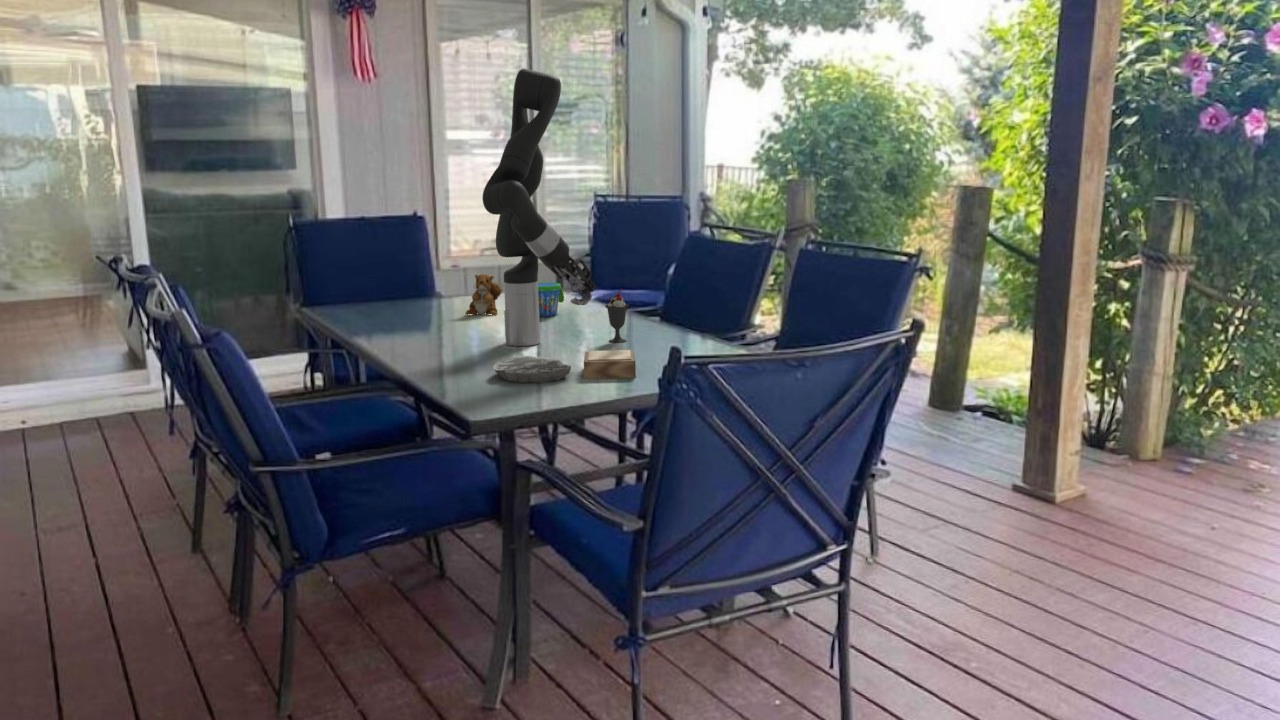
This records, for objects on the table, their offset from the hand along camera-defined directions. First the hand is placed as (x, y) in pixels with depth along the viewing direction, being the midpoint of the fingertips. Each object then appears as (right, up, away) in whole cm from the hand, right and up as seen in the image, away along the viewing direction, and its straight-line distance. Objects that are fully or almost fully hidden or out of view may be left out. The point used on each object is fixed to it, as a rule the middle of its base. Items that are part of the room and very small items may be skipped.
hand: (586, 287), depth 245 cm
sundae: (+8, -13, +24) cm, 28 cm away
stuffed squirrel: (-37, -3, +75) cm, 83 cm away
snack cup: (-17, -4, +68) cm, 70 cm away
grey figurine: (-1, -5, 0) cm, 5 cm away
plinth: (+7, -21, -13) cm, 26 cm away
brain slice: (-12, -23, -16) cm, 30 cm away
